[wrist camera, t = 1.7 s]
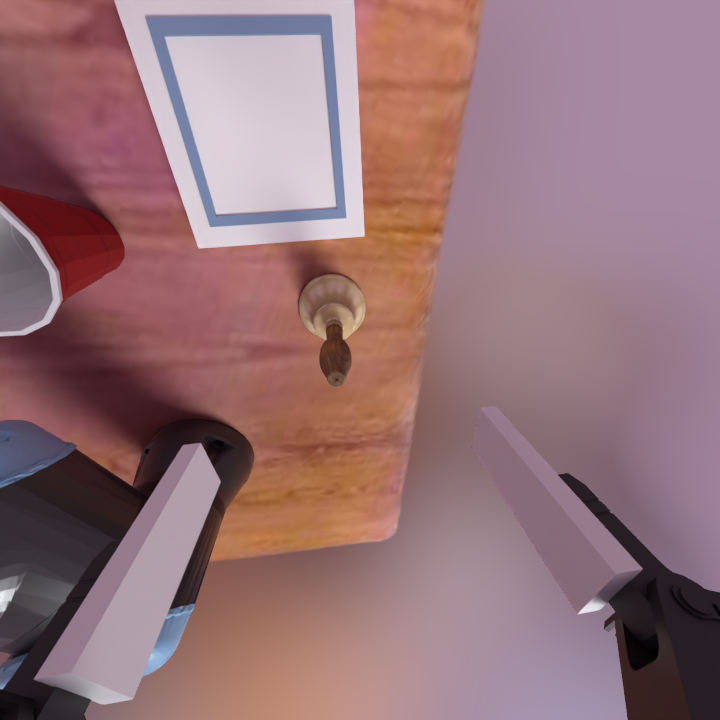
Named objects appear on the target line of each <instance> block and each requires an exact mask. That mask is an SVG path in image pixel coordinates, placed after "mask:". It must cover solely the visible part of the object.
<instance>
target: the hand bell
mask: <svg viewBox="0 0 720 720" xmlns="http://www.w3.org/2000/svg"><path fill="white" fill-rule="evenodd" d="M365 311H366V304H365V299H364V295H363V293H362V291H361V290H360V288H359V287H358V286H357V285H356V284H355V283H354V282H353V281H352V280H350V279H348V278H346V277H344V276H341V275H336V274H327V275H323V276H319V277H317V278H315V279H313V280H312V281H311V282H309V283H308V284H307V285H306V287H305V288H304V290H303V291H302V293H301V295H300V299H299V314H300V317H301V320H302V322H303V323H304V325H305V326H306V327H307V328H308V330H310V331H311V332H312V333H313V334H315V335H317V336H319V337H321V338H322V339H324V340H326V341H325V342H324V343H323V345H322V347H321V351H320V357H319V359H320V367H321V369H322V371H323V373H324V375H325V377H326V378H327V381H328V383H329V384H330V385H331V386H334V387H338V386H341V385H342V384H343V383H344V382H345V379H346V376H347V374H348V372H349V370H350V367H351V353H350V349H349V347H348V345H347V343H346V342H345V341H344V339H346V338H347V337H348V336H349V335H350V334H352V333H353V332H354V331H355V330H356V329H357V328H358V327H359V326H360V325H361V323H362V321H363V319H364V316H365Z"/></svg>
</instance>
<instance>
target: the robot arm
mask: <svg viewBox="0 0 720 720" xmlns="http://www.w3.org/2000/svg"><path fill="white" fill-rule="evenodd" d="M76 447H77V446H76V445H75V444H73V443H70V442H65V441H63V440H61V439H60V438H58V437H56V436H55V435H53V434H51V433H50V432H48V431H46V430H44V429H43V428H41V427H39V426H38V425H36V424H34V423H31V422H28V421H23V420H4V421H0V652H5V653H8V654H10V657H9V658H8V660H7V661H6V662H4V663H3V664H2V665H1V666H0V720H86V718H85V715H84V713H85V711H86V709H87V707H88V705H89V703H90V701H91V700H92V701H95V702H97V703H100V704H103V705H105V704H110V703H115V702H120V701H126V700H131V699H133V698H134V695H135V693H136V690H137V688H138V685H139V683H140V680H141V678H142V677H143V676H145V675H147V674H149V673H152V672H153V671H155V670H157V669H158V668H160V667H161V666H162V665H163V664H164V663H166V662H167V660H168V659H169V658H170V657H171V656H172V654H173V653H174V651H175V649H176V648H177V646H178V644H179V641H180V639H181V636H182V634H183V631H184V628H185V626H186V624H187V621H188V618H189V616H190V613H191V612H192V611H193V609H194V606H195V602H196V599H197V596H198V593H199V590H200V587H201V584H202V581H203V577H204V574H205V571H206V568H207V565H208V562H209V559H210V556H211V553H212V550H213V547H214V544H215V541H216V538H217V535H218V532H219V528H220V525H221V522H222V519H223V516H224V514H225V511H226V509H227V507H228V506H229V505H230V503H231V502H232V500H233V499H234V498H235V496H236V495H237V493H238V492H239V490H240V489H241V487H242V486H243V485H244V484H245V482H246V481H247V479H248V477H249V475H250V473H251V469H252V466H253V462H254V453H253V449H252V447H251V445H250V444H249V442H248V441H247V440H246V439H245V438H244V437H243V436H242V435H241V434H239V433H238V432H237V431H235V430H233V429H231V428H229V427H227V426H225V425H222V424H219V423H216V422H211V421H205V420H185V421H179V422H175V423H172V424H169V425H167V426H165V427H163V428H162V429H160V430H159V431H158V432H157V433H156V434H155V435H154V436H153V438H152V439H151V440H150V441H149V443H148V444H147V445H146V447H145V449H144V450H143V453H142V456H141V461H140V463H139V466H138V469H137V472H136V476H135V479H134V482H133V486H131V485H129V484H128V483H126V482H125V481H123V480H122V479H120V478H119V477H117V476H116V475H114V474H113V473H111V472H110V471H108V470H107V469H105V468H104V467H102V466H101V465H99V464H98V463H96V462H95V461H93V460H92V459H90V458H89V457H87V456H86V455H84V454H83V453H81V452H80V451H78V450H77V449H76ZM472 449H473V451H474V452H475V454H476V455H477V457H478V459H479V460H480V462H481V463H482V465H483V467H484V468H485V470H486V471H487V473H488V474H489V476H490V478H491V479H492V481H493V482H494V484H495V485H496V487H497V488H498V490H499V492H500V493H501V495H502V496H503V498H504V500H505V501H506V503H507V504H508V506H509V507H510V509H511V511H512V512H513V514H514V515H515V517H516V518H517V520H518V522H519V523H520V525H521V526H522V528H523V529H524V531H525V533H526V534H527V536H528V537H529V539H530V540H531V542H532V543H533V545H534V547H535V548H536V550H537V552H538V553H539V555H540V556H541V558H542V559H543V561H544V563H545V564H546V566H547V567H548V569H549V570H550V572H551V574H552V575H553V577H554V578H555V580H556V581H557V583H558V584H559V586H560V588H561V589H562V591H563V593H564V594H565V596H566V597H567V599H568V600H569V602H570V603H571V605H572V607H573V608H574V610H575V611H576V613H577V614H581V613H586V612H592V611H597V610H600V609H601V608H603V606H605V605H606V604H607V603H608V602H609V604H610V605H611V606H612V608H613V609H614V610H615V613H614V614H613V615H612V616H610V617H609V618H608V619H607V620H606V621H605V625H604V630H606V631H608V632H609V631H610V630H611V629H613V628H614V627H615V629H616V634H615V636H616V637H617V643H618V651H619V658H620V664H621V673H622V679H623V687H624V695H625V702H626V709H627V717H628V720H720V593H719V592H714V591H709V590H706V589H704V588H702V587H701V586H700V585H699V584H697V583H695V582H693V581H692V580H690V579H688V578H686V577H685V576H682V575H679V574H676V573H673V572H672V571H670V570H669V569H668V568H666V567H665V566H664V565H663V564H662V563H661V562H660V561H659V560H658V559H657V558H656V557H655V556H654V555H653V554H652V553H651V552H650V551H649V550H648V549H647V548H646V547H645V546H644V545H643V544H642V543H641V542H640V541H639V540H638V539H637V538H636V537H635V536H634V535H633V534H632V533H631V532H630V531H629V530H628V529H627V528H626V527H625V526H624V525H623V523H621V521H620V520H619V519H618V518H617V517H616V516H615V515H614V514H611V513H610V510H609V509H608V508H607V507H606V506H605V505H604V504H603V503H602V502H600V501H599V500H598V498H597V497H596V496H595V495H594V494H593V493H592V492H591V491H590V490H589V488H588V487H587V486H585V484H583V483H582V482H580V481H579V480H577V479H576V478H574V477H573V476H571V475H570V474H568V473H566V474H560V475H557V473H556V472H555V471H554V470H553V469H552V468H551V467H550V466H549V465H548V464H547V463H546V461H545V460H544V459H543V458H542V457H541V456H540V455H539V454H538V452H537V451H536V450H535V449H534V448H533V447H532V446H531V445H530V444H529V443H528V442H527V440H526V439H525V438H524V437H523V436H522V435H521V434H520V433H519V432H518V430H516V428H515V427H514V426H513V425H512V424H511V423H510V422H509V420H508V419H507V418H506V417H505V416H504V415H503V414H502V413H501V412H500V410H499V409H498V408H497V407H496V406H493V407H484V408H480V412H479V417H478V421H477V425H476V430H475V434H474V439H473V443H472Z"/></svg>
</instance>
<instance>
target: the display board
mask: <svg viewBox="0 0 720 720" xmlns="http://www.w3.org/2000/svg"><path fill="white" fill-rule="evenodd" d="M114 2H115V4H116V7H117V10H118V13H119V16H120V19H121V22H122V25H123V28H124V31H125V34H126V37H127V40H128V43H129V46H130V48H131V51H132V54H133V57H134V60H135V63H136V66H137V69H138V72H139V75H140V78H141V81H142V84H143V87H144V90H145V93H146V95H147V98H148V101H149V104H150V107H151V110H152V113H153V116H154V119H155V122H156V125H157V128H158V131H159V134H160V137H161V139H162V142H163V145H164V148H165V151H166V154H167V157H168V160H169V163H170V166H171V169H172V172H173V175H174V178H175V181H176V183H177V186H178V189H179V192H180V195H181V198H182V201H183V204H184V207H185V210H186V213H187V216H188V219H189V222H190V225H191V228H192V230H193V233H194V236H195V239H196V242H197V245H198V248H212V247H226V246H240V245H253V244H267V243H281V242H295V241H308V240H322V239H336V238H350V237H364V213H363V191H362V168H361V146H360V124H359V101H358V79H357V56H356V34H355V12H354V0H114Z"/></svg>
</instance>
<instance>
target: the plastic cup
mask: <svg viewBox="0 0 720 720" xmlns="http://www.w3.org/2000/svg"><path fill="white" fill-rule="evenodd" d="M123 259H124V245H123V242H122V240H121V238H120V235H119V234H118V233H117V231H116V230H115V229H114V228H113V226H112V225H111V224H110V223H109V222H108V221H106V220H105V219H103V218H102V217H101V216H99V215H98V214H96V213H93V212H92V211H89V210H86V209H84V208H81V207H78V206H75V205H71V204H67V203H63V202H59V201H56V200H53V199H50V198H48V197H44V196H40V195H36V194H32V193H28V192H24V191H20V190H16V189H12V188H8V187H4V186H0V336H16V335H26V334H28V333H30V332H32V331H34V330H37V329H39V328H41V327H43V326H45V325H47V324H49V323H50V322H51V320H52V319H53V317H54V315H55V313H56V311H57V309H58V308H59V306H60V304H61V303H63V302H64V301H65V300H66V299H67V298H68V297H70V296H71V295H73V294H75V293H76V292H78V291H80V290H82V289H83V288H85V287H87V286H88V285H90V284H92V283H94V282H95V281H97V280H99V279H100V278H102V277H103V275H105V274H107V273H109V272H111V271H113V270H115V269H117V267H118V266H120V264H121V262H122V260H123Z"/></svg>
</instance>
